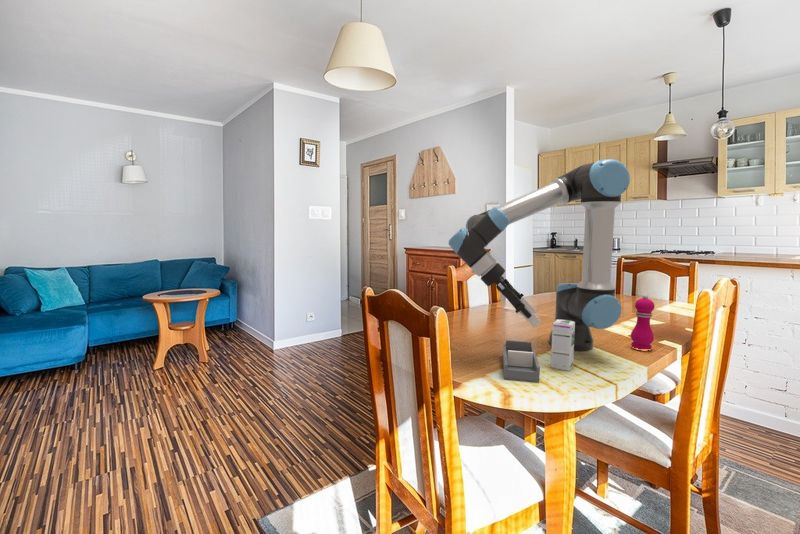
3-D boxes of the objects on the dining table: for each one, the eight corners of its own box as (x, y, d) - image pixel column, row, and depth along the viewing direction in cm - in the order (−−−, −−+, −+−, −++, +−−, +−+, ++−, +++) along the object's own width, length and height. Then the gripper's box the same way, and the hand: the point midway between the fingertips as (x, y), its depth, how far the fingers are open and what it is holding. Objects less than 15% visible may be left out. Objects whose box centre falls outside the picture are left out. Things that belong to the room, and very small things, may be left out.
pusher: (506, 359, 131) (507, 345, 131) (530, 361, 130) (531, 347, 129) (507, 365, 126) (507, 351, 125) (532, 367, 124) (533, 353, 123)
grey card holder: (502, 356, 137) (503, 339, 136) (532, 359, 134) (533, 342, 134) (504, 379, 117) (504, 359, 117) (539, 382, 115) (540, 362, 114)
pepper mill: (651, 347, 149) (656, 293, 147) (654, 353, 142) (659, 296, 140) (628, 344, 152) (632, 291, 150) (630, 350, 145) (634, 295, 143)
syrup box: (570, 371, 124) (573, 324, 122) (549, 367, 127) (552, 322, 125) (573, 366, 129) (576, 321, 127) (553, 362, 132) (556, 318, 130)
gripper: (480, 273, 142) (523, 318, 141) (477, 283, 118) (529, 337, 117) (497, 258, 141) (540, 303, 139) (497, 265, 116) (550, 320, 115)
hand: (535, 319), depth 128 cm, fingers open, 13 cm apart
